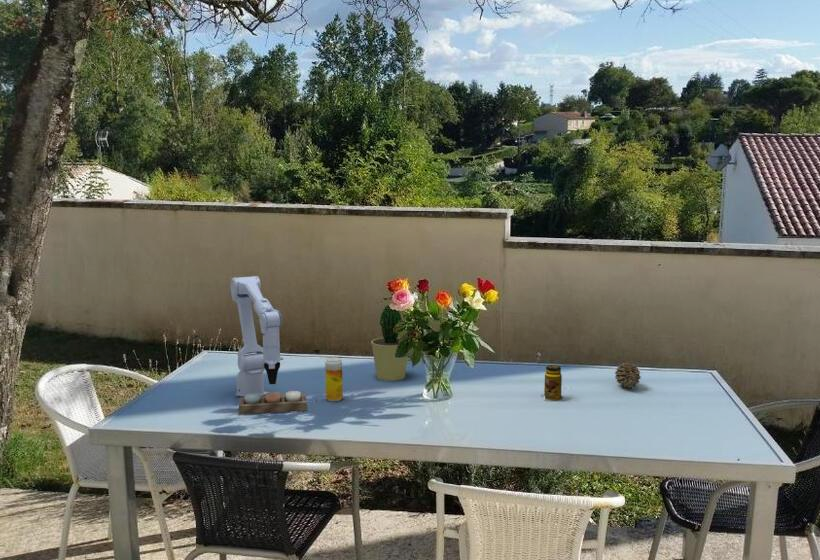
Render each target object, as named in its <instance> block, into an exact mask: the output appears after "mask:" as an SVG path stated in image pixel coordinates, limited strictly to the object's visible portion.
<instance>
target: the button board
mask: <svg viewBox="0 0 820 560" xmlns="http://www.w3.org/2000/svg"><path fill="white" fill-rule="evenodd" d="M280 397H281V402H274V403H266V401H265V395H263V396H261V397H260V403H256V404H245V397H240V398H239V402H238V403H239V404H238V415H240V416H242V415H241V414H245V415H256V414H255V413H262V414H272V413H271V412H279V413H292V412H291V411H296V412H307V411H308V401H307V395H306V393H301V401H292V402H286V394H283V395H281V394H280ZM306 410H307V411H306Z"/></svg>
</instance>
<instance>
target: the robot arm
mask: <svg viewBox="0 0 820 560" xmlns="http://www.w3.org/2000/svg"><path fill="white" fill-rule="evenodd" d="M229 287H230V294H231V298H232V301H233V302H236V304H237V310H238V316H239V324H240V329H241V336H242V342H243V346H242V347H241V349H239V351H238V352H237V367H238V370H239V371H238V373H237V375H236V377H235V378H236V393H235V396H237V397H238V396H239V397H241V398H243V397H245V395H246V394H250V393H258V394H260V397H262V396H265V394H266V393H270V392H269V391H266V390H264V372H266V376H267V380H268V384H269V385H277V384H276V383H277V378H278V372H279V370H280V367H281V362H280V361H284V360H285V359H284V356H281V348H280V347H281V343H280V339H281V338H280V327H282V324H283V317H282V314H281V312H280V310H278V309H274V307H273V305H272V304H271V302H270V301H269V299H268V298H265V297H264V296H263V294H262V292H261V287H262V284H261V279H260V278H259V276H258V275H253V276H240V277H232V278H231V280H230V286H229ZM252 302H253V309H254V311H255V313H256V315H257V316H258V318H259V319H258V320H259V325H260V333H262V346H261V345H259V344H258V340H257V334H256V328H255V323H254V316H253V309H252Z"/></svg>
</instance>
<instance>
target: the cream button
mask: <svg viewBox="0 0 820 560" xmlns="http://www.w3.org/2000/svg"><path fill="white" fill-rule="evenodd" d="M301 394H302V393H301V391H296V390H289V391H287V392H285V395H286V402H292V401H301Z"/></svg>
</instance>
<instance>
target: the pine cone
mask: <svg viewBox="0 0 820 560" xmlns="http://www.w3.org/2000/svg"><path fill="white" fill-rule="evenodd" d="M615 370H616V371H614V375H615V376H614V378H615V380H616V383H618V385H621V386H620V387H624V388H625V387H626V388H628V389H629V388H632V387H633V388H635V387H636V386H638V384H639V383H640V379H642V376H641V375H640V374H641V370H639V367H638V365H635V363H633V364H632V363H630V362H629V363H628V362H622V363H621V364H619V366H617V367H616V369H615Z"/></svg>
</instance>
